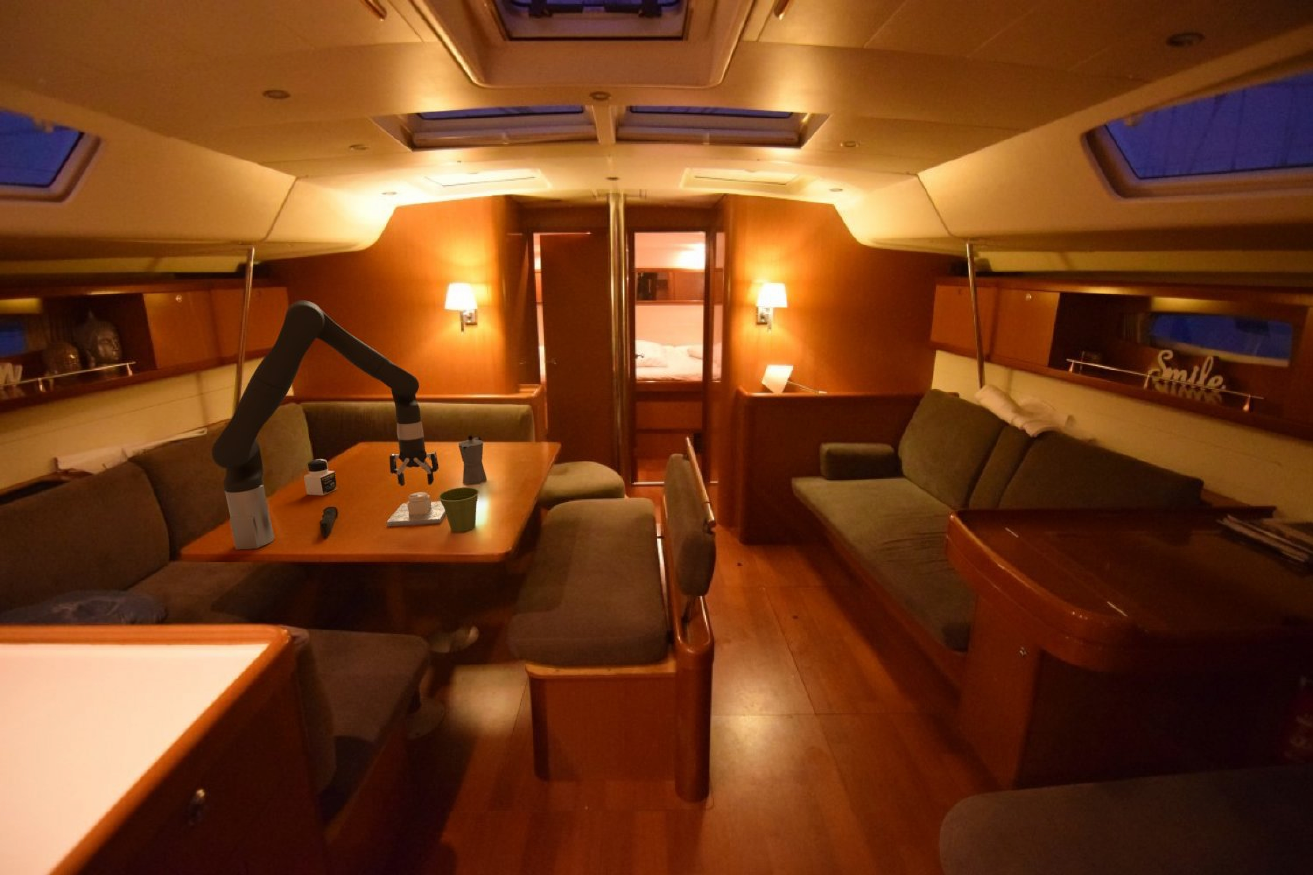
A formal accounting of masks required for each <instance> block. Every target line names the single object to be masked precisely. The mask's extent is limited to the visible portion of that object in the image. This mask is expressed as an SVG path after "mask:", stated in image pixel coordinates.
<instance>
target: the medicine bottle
mask: <svg viewBox="0 0 1313 875" xmlns="http://www.w3.org/2000/svg"><path fill="white" fill-rule="evenodd" d="M328 466H329V465H328V462H327V460H326V459H323V458H319V459H313V460H310V461H308V463H307V467H308V473H309V474H306V475H304V476H303V478H304V485H305V490H306V495H310V496H326V495H329V494H330V493H332V492H335V491H336V490H338V485H337V479H336V472H335V470H329V467H328Z"/></svg>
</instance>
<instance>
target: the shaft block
mask: <svg viewBox="0 0 1313 875" xmlns="http://www.w3.org/2000/svg"><path fill="white" fill-rule="evenodd" d="M445 516H446V512H445V509H444V507H443V505H442V502H441V500H439V501H431V508H430V510H429V511H428V513H427V514H411V515H409V512H408V506H407V502H406V503H405V502H404V503H402V504H400V506H399V507H398V508H397V509H396V510H395V512H394V513H393V514H392V515H391V516H390V518H389V519H387V521H386V526H387V527H397V526H417V525H419V526H420V525H433V524H434V525H436V524H441V523H442V521H443V520H444V518H445Z"/></svg>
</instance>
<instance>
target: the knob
mask: <svg viewBox="0 0 1313 875" xmlns="http://www.w3.org/2000/svg"><path fill="white" fill-rule="evenodd" d="M431 502H432V500H431V495H430V494H428V492H425V491H420V492H419V491H418V492H414V493H411V494H410V495H408V501H407V502H406V503H407V506H408V512H409V515H411V514H427V513H428V511H429V510H430V508H431Z"/></svg>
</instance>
